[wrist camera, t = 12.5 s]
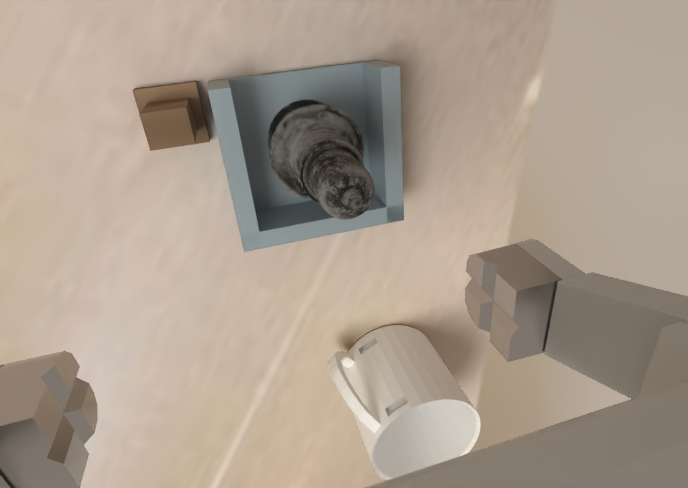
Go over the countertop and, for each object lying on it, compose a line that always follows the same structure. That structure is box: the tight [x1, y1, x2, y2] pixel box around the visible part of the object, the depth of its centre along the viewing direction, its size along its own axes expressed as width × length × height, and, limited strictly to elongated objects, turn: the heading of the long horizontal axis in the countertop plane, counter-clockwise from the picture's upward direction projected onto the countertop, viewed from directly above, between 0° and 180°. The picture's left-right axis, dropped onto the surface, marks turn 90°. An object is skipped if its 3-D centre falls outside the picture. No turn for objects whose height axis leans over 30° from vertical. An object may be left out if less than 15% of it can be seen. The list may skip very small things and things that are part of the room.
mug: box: [328, 325, 481, 480], centre depth 37 cm, size 12×9×9 cm
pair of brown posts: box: [133, 81, 210, 150], centre depth 23 cm, size 15×4×4 cm, turn 5°
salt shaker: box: [268, 100, 375, 220], centre depth 24 cm, size 6×6×12 cm
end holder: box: [208, 60, 404, 252], centre depth 29 cm, size 10×11×4 cm
